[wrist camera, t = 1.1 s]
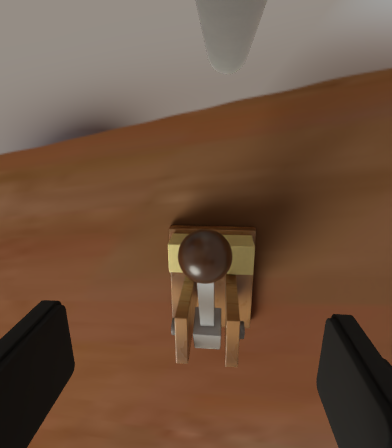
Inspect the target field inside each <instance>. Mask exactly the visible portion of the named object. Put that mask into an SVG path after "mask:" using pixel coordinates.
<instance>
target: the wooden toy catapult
mask: <svg viewBox="0 0 392 448" xmlns="http://www.w3.org/2000/svg"><path fill="white" fill-rule="evenodd" d="M199 229H211V230H214V231H217V232H219V233H220V234H222V235H251V236H252V238H253V242H254V245H255V241H256V229H255V227H230V226H188V225H171V226H170V228H169V240H170V239H171V237H172V235H173V233H176V234H190V233H192V232H193V231H196V230H199ZM254 256H255V254H254ZM253 271H254V270H253ZM252 287H253V275H235V274H226V275H225V276H224V277H223V278H221V279H220V280H218V281H216V282H215V308H221V327H225V366H227V367H238V353H239V339H244V334H245V328H250V317H251V302H252ZM171 293H172V325H171V333H172V335H175V348H176V363H183V364H188V361H189V354H190V347H191V340H192V333H193V326H194V315H195V307H199V302H198V290H197V282H194V281H192V280H191V279H189V278H188V277H187V276H186V275H185V274H184V273H181V272H171Z"/></svg>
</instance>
